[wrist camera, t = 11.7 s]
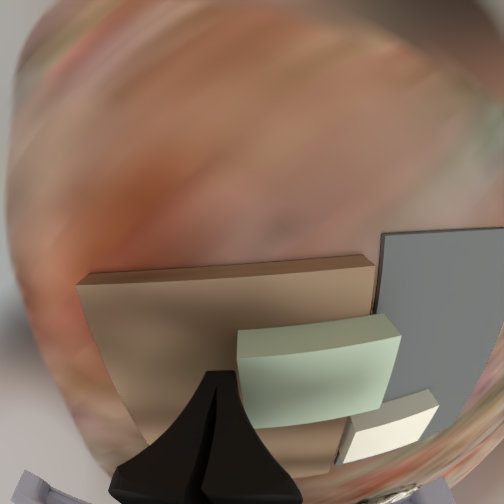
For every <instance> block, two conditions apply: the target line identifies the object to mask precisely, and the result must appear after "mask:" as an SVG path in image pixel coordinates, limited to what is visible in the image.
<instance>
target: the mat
mask: <svg viewBox="0 0 504 504" xmlns="http://www.w3.org/2000/svg"><path fill="white" fill-rule="evenodd" d="M381 313H384V314H385V315H386V317H387V318H388V319H389V320H390V322H391V323H392V324H393V325H394V326H395V328H396V329H397V330H398V331H399V333H400V334H401V335H402V336H401V340H400V344H399V348H398V352H397V356H396V359H395V363H394V366H393V370H392V373H391V376H390V379H389V382H388V385H387V389H386V391H385V394H384V397H383V400H382V403H385V402H388V401H392V400H395V399H399V398H402V397H405V396H408V395H411V394H414V393H417V392H420V391H423V390H426V389H429V390H430V392H431V393H432V395H433V396H434V398H435V399H436V401H437V402H438V404H439V407H438V409H437V410H436V412H435V414H434V416H433V417H432V419H431V421H430V422H429V424H428V425H427V427H426V429H425V430H424V432H423V433H422V435H421V436H420V438H419V439H418V441H419V440H421V439H424V438H426V437H428V436H431V435H433V434H435V433H437V432H440V431H442V430H444V429H446V428H448V427H450V426H451V425H452V424H453V422H454V421H455V419H456V417H457V416H458V414H459V413H460V411H461V410H462V408H463V406H464V405H465V403H466V401H467V400H468V398H469V396H470V394H471V393H472V391H473V389H474V387H475V385H476V383H477V381H478V380H479V378H480V376H481V374H482V372H483V370H484V368H485V365H486V363H487V361H488V359H489V357H490V355H491V352H492V350H493V348H494V345H495V343H496V340H497V338H498V335H499V333H500V330H501V327H502V325H503V322H504V227H501V228H479V229H458V230H439V231H420V232H403V233H385V234H381V249H380V261H379V272H378V281H377V289H376V297H375V304H374V311H373V315H375V314H381ZM415 442H416V441H415ZM413 443H414V442H413ZM410 444H411V443H410ZM407 445H409V444H407ZM405 446H406V445H405ZM402 447H403V446H402ZM399 448H401V447H399ZM396 449H398V448H396ZM393 450H395V449H393ZM390 451H392V450H390ZM387 452H389V451H387ZM384 453H386V452H384ZM381 454H383V453H381ZM378 455H379V454H378ZM374 456H376V455H374ZM371 457H373V456H371ZM367 458H369V457H367ZM364 459H366V458H364ZM360 460H362V459H360ZM356 461H358V460H356ZM352 462H354V461H352ZM334 463H335V466H337V465H342V464H346V463H342V459H341V456H340V452H338V454H337V457H336V460H335V462H334ZM347 463H350V462H347Z"/></svg>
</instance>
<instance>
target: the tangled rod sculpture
mask: <svg viewBox="0 0 504 504" xmlns="http://www.w3.org/2000/svg"><path fill="white" fill-rule="evenodd" d="M417 489H418V488H417V487H414V488H413V489H410V490H408V491H406V492H400V493H398V494H393V495H390V496H388V497H387V498H386V499H385V501H384V502H381V503H376V504H390V503H392V502H395V501H398V500H400V499H403V498H405V497H408V496H410V495H411V494H412V493H413V492H414V491H415V490H417ZM413 490H414V491H413ZM362 504H366V503H362Z"/></svg>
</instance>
